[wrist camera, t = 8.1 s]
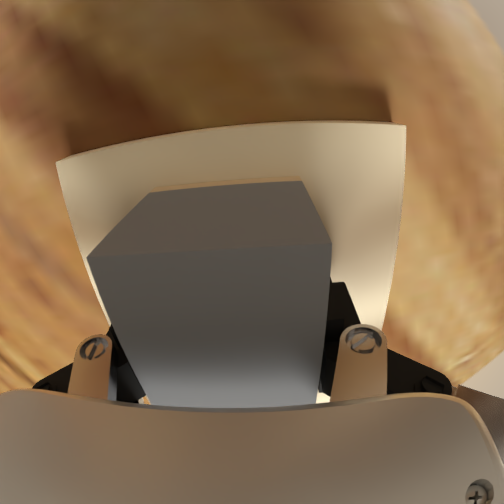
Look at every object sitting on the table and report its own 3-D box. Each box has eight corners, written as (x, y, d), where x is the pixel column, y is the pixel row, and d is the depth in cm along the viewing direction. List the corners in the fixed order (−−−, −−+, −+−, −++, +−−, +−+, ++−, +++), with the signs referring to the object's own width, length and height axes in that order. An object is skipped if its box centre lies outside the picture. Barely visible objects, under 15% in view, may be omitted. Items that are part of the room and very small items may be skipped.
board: (70, 155, 11) (55, 162, 10) (392, 122, 10) (406, 125, 9) (175, 427, 20) (172, 440, 19) (347, 421, 19) (349, 434, 18)
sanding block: (154, 187, 10) (86, 257, 6) (299, 176, 10) (332, 243, 6) (193, 351, 14) (174, 442, 10) (298, 348, 14) (309, 442, 9)
